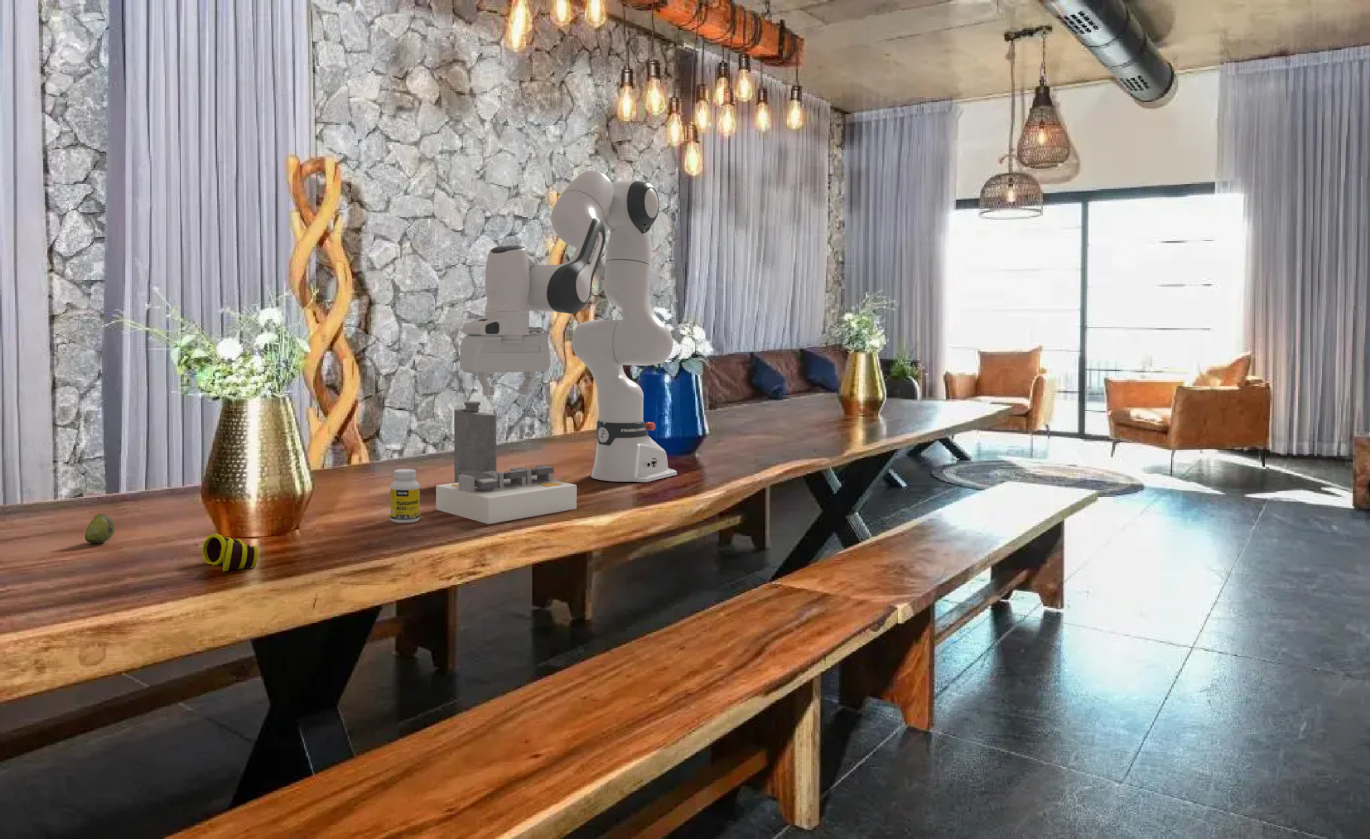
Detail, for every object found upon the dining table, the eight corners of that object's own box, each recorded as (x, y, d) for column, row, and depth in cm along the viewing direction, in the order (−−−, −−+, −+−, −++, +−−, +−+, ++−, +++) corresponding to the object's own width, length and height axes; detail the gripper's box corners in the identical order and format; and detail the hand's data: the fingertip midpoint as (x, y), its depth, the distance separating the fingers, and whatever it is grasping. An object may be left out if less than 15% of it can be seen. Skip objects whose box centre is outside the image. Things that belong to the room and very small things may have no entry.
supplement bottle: (393, 524, 180) (392, 473, 179) (388, 519, 184) (387, 469, 183) (422, 522, 182) (422, 471, 181) (416, 516, 187) (416, 467, 186)
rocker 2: (503, 478, 199) (503, 471, 199) (527, 476, 194) (526, 469, 194) (487, 480, 196) (487, 473, 196) (511, 478, 191) (510, 471, 191)
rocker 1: (475, 475, 194) (475, 468, 194) (498, 487, 189) (498, 480, 189) (458, 477, 191) (459, 470, 191) (481, 489, 186) (482, 482, 186)
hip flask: (499, 491, 215) (499, 403, 213) (483, 493, 212) (483, 404, 210) (464, 481, 227) (463, 398, 224) (448, 483, 224) (448, 398, 222)
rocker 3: (530, 474, 204) (529, 468, 204) (553, 473, 199) (553, 466, 199) (515, 476, 201) (514, 470, 201) (538, 475, 196) (538, 468, 196)
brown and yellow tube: (258, 575, 147) (264, 543, 148) (223, 574, 143) (229, 542, 144) (232, 563, 154) (238, 532, 154) (198, 562, 150) (204, 531, 150)
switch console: (523, 496, 210) (523, 460, 209) (576, 508, 198) (576, 470, 197) (436, 509, 194) (435, 470, 193) (488, 524, 182) (488, 482, 181)
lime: (86, 547, 158) (84, 518, 157) (83, 541, 162) (82, 512, 161) (117, 544, 161) (115, 515, 160) (114, 538, 164) (112, 510, 164)
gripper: (538, 326, 202) (537, 391, 203) (455, 325, 187) (455, 395, 188) (557, 327, 197) (556, 393, 199) (474, 325, 183) (473, 397, 184)
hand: (506, 394), depth 193 cm, fingers open, 8 cm apart
